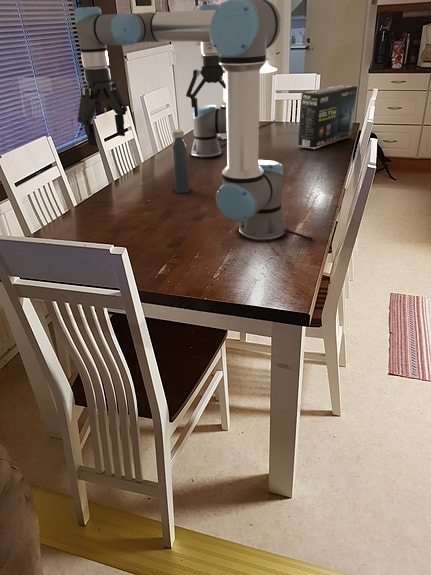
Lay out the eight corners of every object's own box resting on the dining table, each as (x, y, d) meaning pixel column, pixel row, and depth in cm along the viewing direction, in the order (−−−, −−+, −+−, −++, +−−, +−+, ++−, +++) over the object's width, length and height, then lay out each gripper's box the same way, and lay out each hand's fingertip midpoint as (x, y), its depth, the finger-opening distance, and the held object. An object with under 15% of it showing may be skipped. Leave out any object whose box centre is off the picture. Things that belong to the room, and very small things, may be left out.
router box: (314, 151, 231) (318, 94, 217) (296, 148, 237) (299, 92, 224) (352, 138, 251) (358, 85, 238) (335, 135, 258) (340, 83, 245)
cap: (182, 137, 174) (182, 132, 173) (171, 137, 175) (170, 132, 174) (184, 134, 178) (184, 129, 177) (173, 135, 178) (173, 129, 177)
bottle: (187, 193, 185) (183, 133, 173) (174, 193, 185) (168, 133, 173) (190, 188, 190) (186, 130, 178) (176, 188, 190) (172, 130, 178)
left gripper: (175, 56, 164) (179, 118, 175) (244, 54, 160) (244, 118, 171) (180, 54, 170) (184, 114, 181) (247, 52, 166) (247, 114, 177)
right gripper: (114, 63, 147) (123, 131, 158) (55, 72, 129) (70, 148, 140) (132, 63, 144) (140, 132, 155) (75, 72, 126) (88, 150, 137)
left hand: (213, 116), depth 176 cm, fingers open, 13 cm apart
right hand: (107, 140), depth 148 cm, fingers open, 13 cm apart
